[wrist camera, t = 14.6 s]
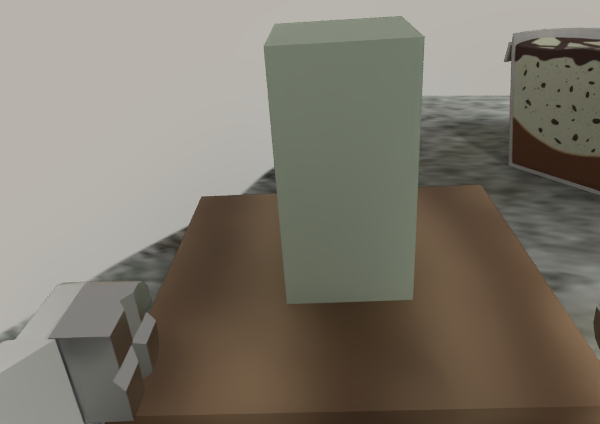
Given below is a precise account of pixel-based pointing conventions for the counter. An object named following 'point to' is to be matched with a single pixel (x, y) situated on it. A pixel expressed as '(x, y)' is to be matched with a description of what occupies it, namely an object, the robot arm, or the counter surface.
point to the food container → (556, 105)
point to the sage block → (346, 156)
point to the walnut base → (365, 330)
